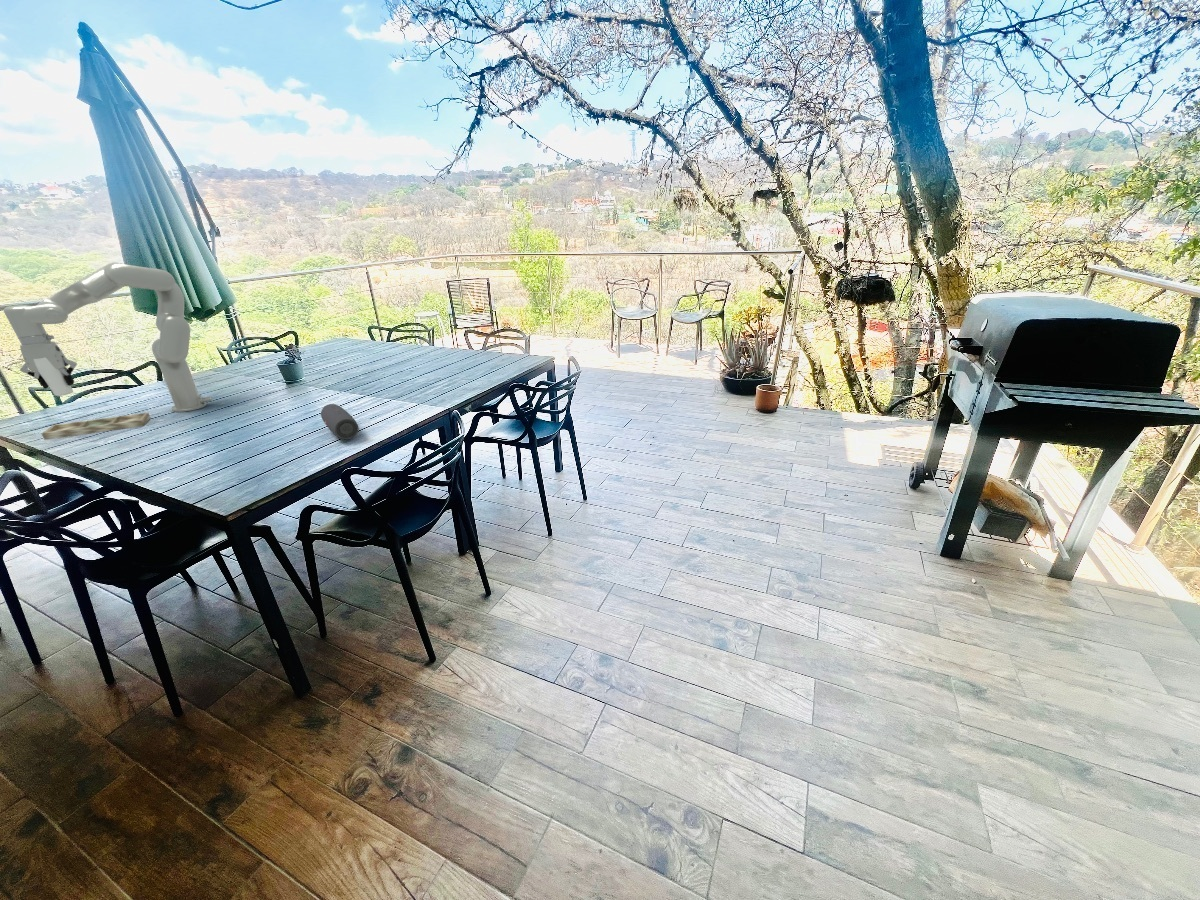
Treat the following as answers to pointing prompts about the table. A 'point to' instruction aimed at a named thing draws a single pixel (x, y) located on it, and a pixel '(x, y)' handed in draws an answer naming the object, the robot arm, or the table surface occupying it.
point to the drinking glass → (53, 377)
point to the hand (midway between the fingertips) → (59, 385)
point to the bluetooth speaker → (339, 421)
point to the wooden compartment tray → (96, 425)
